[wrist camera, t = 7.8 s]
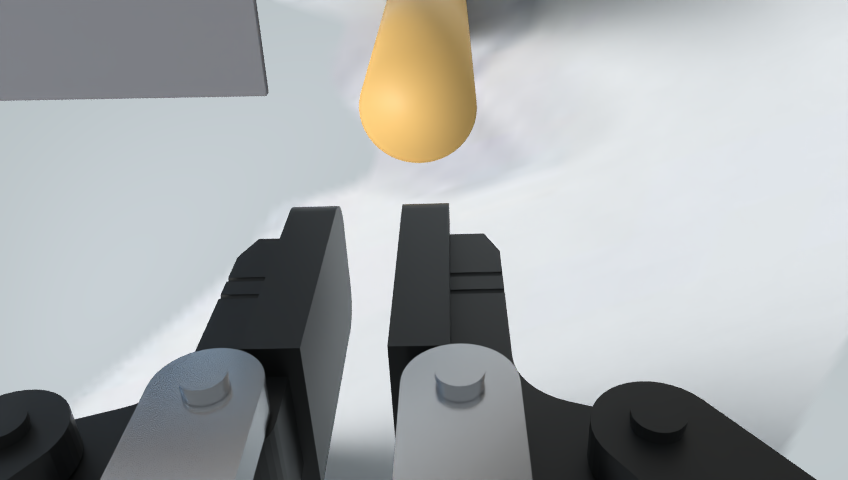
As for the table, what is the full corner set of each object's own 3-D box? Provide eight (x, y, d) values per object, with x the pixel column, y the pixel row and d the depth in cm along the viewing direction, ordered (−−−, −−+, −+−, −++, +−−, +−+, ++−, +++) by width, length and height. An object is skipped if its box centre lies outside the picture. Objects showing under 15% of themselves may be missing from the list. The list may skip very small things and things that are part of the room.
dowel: (466, 45, 27) (476, 161, 19) (389, 47, 27) (363, 163, 19) (466, -36, 26) (477, 49, 17) (384, -34, 26) (355, 52, 17)
